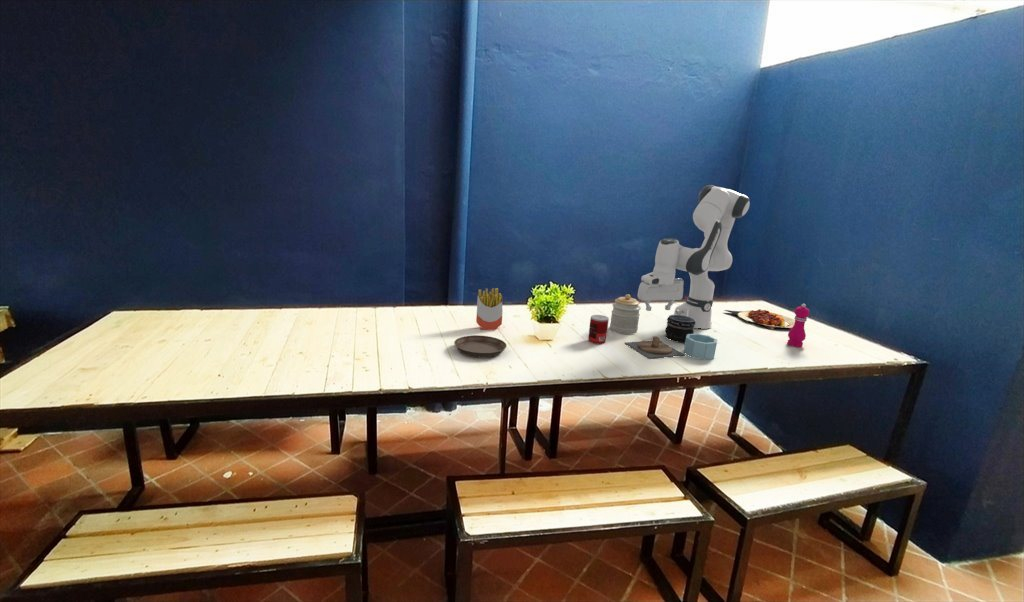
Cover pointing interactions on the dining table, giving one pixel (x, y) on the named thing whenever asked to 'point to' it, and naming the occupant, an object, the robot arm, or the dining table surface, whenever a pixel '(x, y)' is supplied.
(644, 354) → the mat
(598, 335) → the canned food
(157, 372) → the dining table surface
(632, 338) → the dining table surface
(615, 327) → the jar
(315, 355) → the dining table surface
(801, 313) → the pepper mill
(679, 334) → the container
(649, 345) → the lid
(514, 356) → the dining table surface
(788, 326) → the plate of food
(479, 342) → the plant saucer
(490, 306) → the french fries container
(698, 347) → the bowl
